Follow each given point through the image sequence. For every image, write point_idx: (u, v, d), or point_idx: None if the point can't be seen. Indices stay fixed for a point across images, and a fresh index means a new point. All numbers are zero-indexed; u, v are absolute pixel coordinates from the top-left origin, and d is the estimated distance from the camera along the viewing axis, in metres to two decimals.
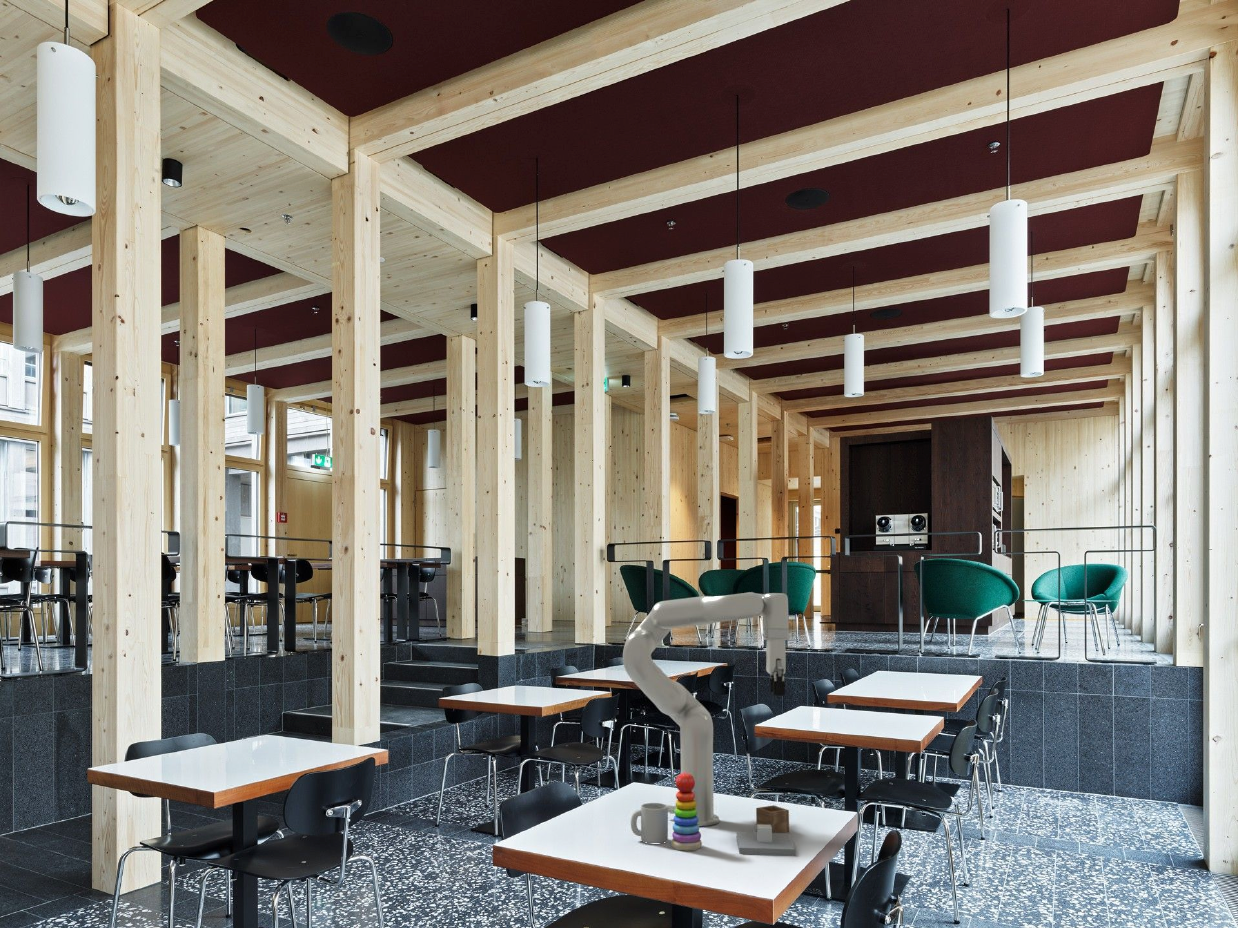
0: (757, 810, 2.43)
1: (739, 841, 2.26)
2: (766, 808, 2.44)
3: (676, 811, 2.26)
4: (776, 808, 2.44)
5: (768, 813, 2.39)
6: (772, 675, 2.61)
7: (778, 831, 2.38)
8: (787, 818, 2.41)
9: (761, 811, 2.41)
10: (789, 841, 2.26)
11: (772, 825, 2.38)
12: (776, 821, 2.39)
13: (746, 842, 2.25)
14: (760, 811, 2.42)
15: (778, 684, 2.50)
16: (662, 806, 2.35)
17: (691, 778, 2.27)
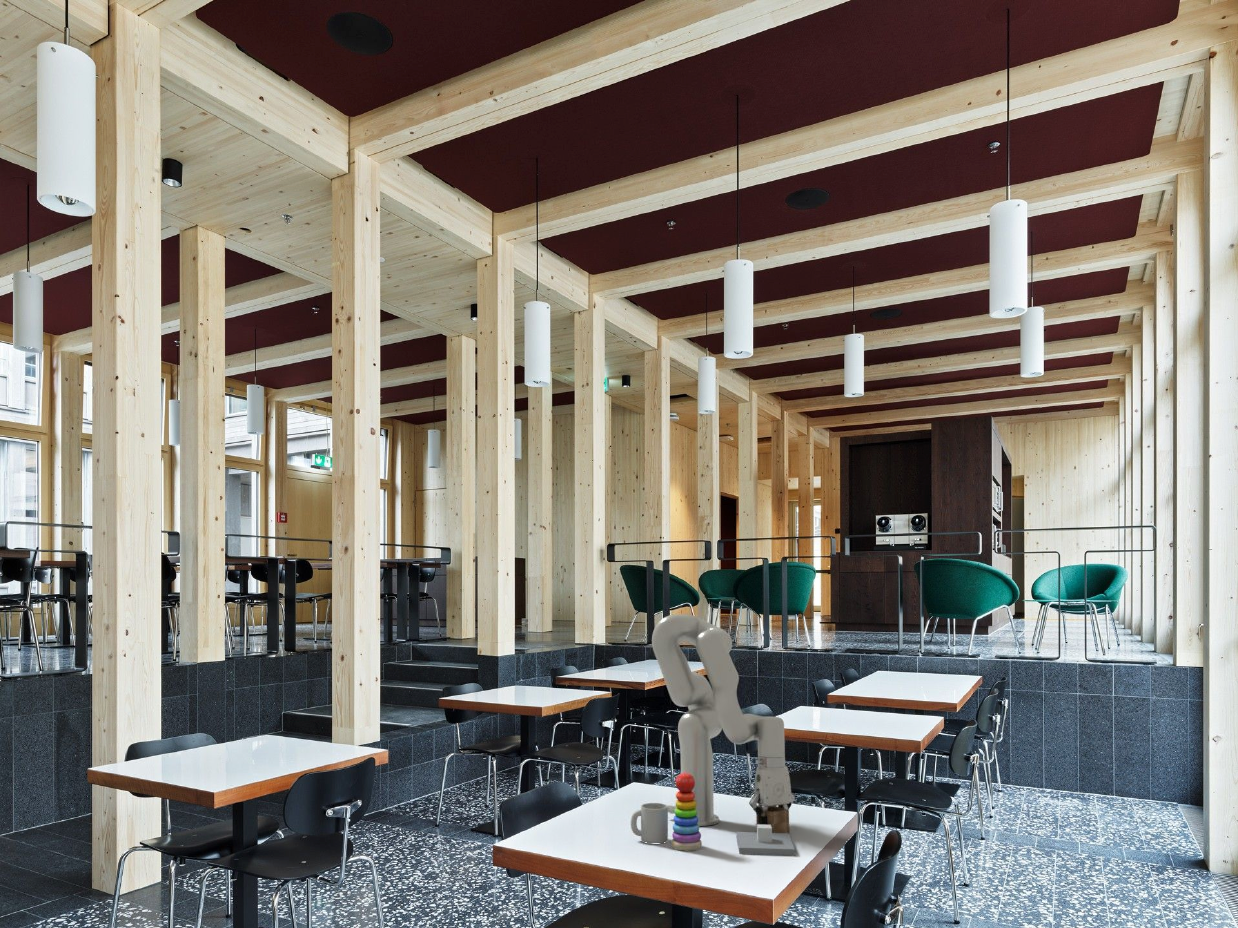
0: None
1: (739, 841, 2.26)
2: None
3: (676, 811, 2.26)
4: (776, 808, 2.44)
5: (768, 813, 2.39)
6: None
7: (778, 831, 2.38)
8: (787, 818, 2.41)
9: None
10: (789, 841, 2.26)
11: (772, 825, 2.38)
12: (776, 821, 2.39)
13: (746, 842, 2.25)
14: None
15: None
16: (662, 806, 2.35)
17: (691, 778, 2.27)
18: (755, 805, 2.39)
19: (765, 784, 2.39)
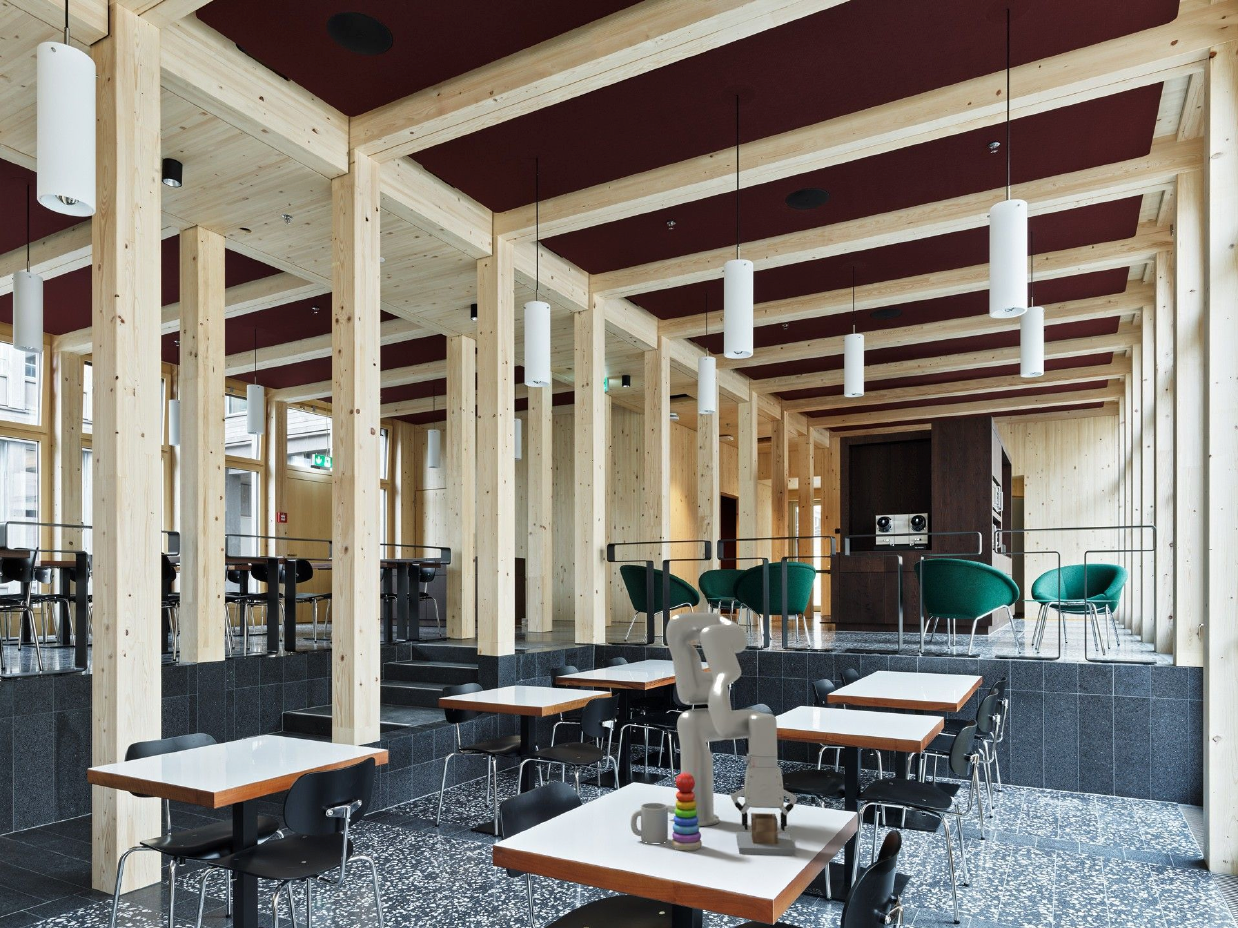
0: (751, 815, 2.31)
1: (739, 841, 2.26)
2: (762, 815, 2.30)
3: (676, 811, 2.26)
4: (772, 816, 2.29)
5: (752, 819, 2.26)
6: (746, 810, 2.28)
7: (762, 840, 2.24)
8: (775, 828, 2.24)
9: (751, 817, 2.29)
10: (789, 841, 2.26)
11: (754, 832, 2.25)
12: (760, 829, 2.25)
13: (746, 842, 2.25)
14: (751, 817, 2.30)
15: None
16: (662, 806, 2.35)
17: (691, 778, 2.27)
18: (735, 800, 2.29)
19: (747, 783, 2.27)
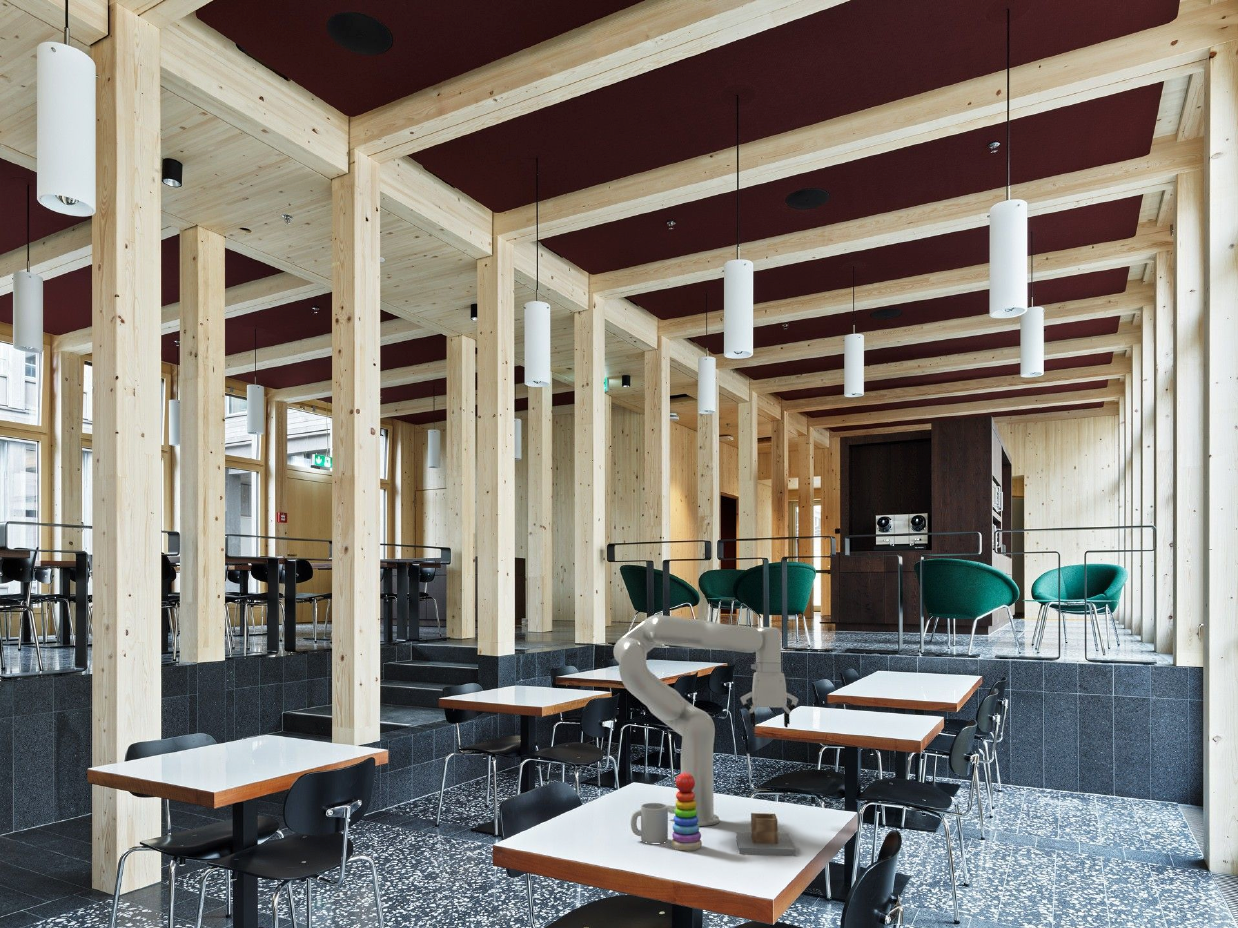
0: (751, 815, 2.31)
1: (739, 841, 2.26)
2: (762, 815, 2.30)
3: (676, 811, 2.26)
4: (772, 816, 2.29)
5: (752, 819, 2.26)
6: None
7: (762, 840, 2.24)
8: (775, 828, 2.24)
9: (751, 817, 2.29)
10: (789, 841, 2.26)
11: (754, 832, 2.25)
12: (760, 829, 2.25)
13: (746, 842, 2.25)
14: (751, 817, 2.30)
15: None
16: (662, 806, 2.35)
17: (691, 778, 2.27)
18: (744, 701, 2.61)
19: (755, 686, 2.60)
